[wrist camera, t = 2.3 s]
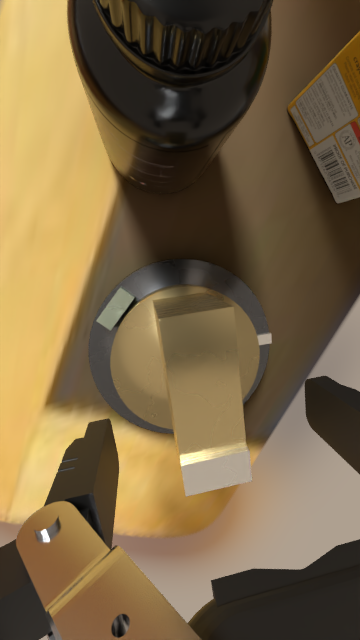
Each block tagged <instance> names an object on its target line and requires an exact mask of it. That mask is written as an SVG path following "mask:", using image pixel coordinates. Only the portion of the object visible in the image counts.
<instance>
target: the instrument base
mask: <svg viewBox="0 0 360 640" xmlns="http://www.w3.org/2000/svg"><path fill="white" fill-rule="evenodd" d="M178 284H193V285H199V286H203V287H206V288H209V289H212V290H214V291H217V292H219V293H221V294H223V295H225V296H227V297H228V298H230V299H231V300H233V301H234V302H235V303H237V304H238V305H239V306H240V307H241V308H242V309H243V310H244V312H245V313H246V314H247V315H248V317H249V319H250V320H251V322H252V324H253V326H254V328H255V331H256V334H257V337H258V341H259V349H260V359H259V367H258V371H257V375H256V378H255V380H254V383H253V385H252V387H251V389H250V390H249V392H248V394H247V395H246V396H245V398H244V399H243V400H242V403H243V404H244V403H245V402H246V401H247V400H248V399H249V398H250V396H251V395H252V394H253V392H254V391H255V389H256V388H257V386H258V384H259V382H260V380H261V378H262V376H263V373H264V371H265V368H266V364H267V360H268V354H269V344H270V343H272V340H271V333H270V332H269V330H268V324H267V321H266V317H265V314H264V312H263V309H262V307H261V305H260V303H259V301H258V300H257V298H256V296H255V295H254V294H253V292H252V291H251V290H250V289H249V287H248V286H247V285H246V284H245V283H244V282H243V281H241V280H240V279H239V278H238V277H237V276H235V275H234V274H232V273H231V272H229V271H227V270H225V269H223V268H222V267H220V266H217V265H214V264H211V263H208V262H204V261H199V260H191V259H172V260H164V261H159V262H155V263H152V264H149V265H146V266H144V267H142V268H140V269H138V270H136V271H134V272H133V273H131V274H130V275H129V276H127V277H126V278H124V279H123V280H122V281H121V282H120V283H119V284H118V285H117V286H116V287H115V288H114V289H113V290H112V292H111V293H110V294H109V295H108V297H107V298H106V299H105V301H104V302H103V304H102V305H101V307H100V309H99V310H98V313H97V315H96V317H95V319H94V322H93V326H92V329H91V333H90V340H89V362H90V368H91V372H92V375H93V378H94V381H95V383H96V385H97V388H98V390H99V391H100V393H101V395H102V396H103V398H104V399H105V400H106V402H107V403H108V404H109V405H110V406H111V407H112V409H114V410H115V411H116V412H117V413H118V414H119V415H120V416H122V417H123V418H125V419H126V420H128V421H129V422H131V423H133V424H135V425H137V426H139V427H142V428H145V429H148V430H151V431H156V432H160V433H171V434H174V432H173V429H167V428H162V427H159V426H156V425H153V424H151V423H149V422H147V421H145V420H143V419H141V418H140V417H138V416H137V415H136V414H134V413H133V412H132V411H131V410H130V409H129V408H128V407H127V406H126V405H125V403H124V402H123V401H122V399H121V398H120V396H119V394H118V392H117V390H116V388H115V386H114V383H113V379H112V375H111V367H110V357H111V350H112V345H113V342H114V338H115V335H116V332H117V329H118V327H119V325H120V323H121V321H122V319H123V318H124V316H125V315H126V313H127V312H128V311H129V310H130V309H131V307H132V306H133V305H134V304H136V303H137V302H138V301H139V300H140V299H142V298H143V297H144V296H146V295H147V294H149V293H151V292H153V291H155V290H158V289H160V288H163V287H167V286H171V285H178Z"/></svg>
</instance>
